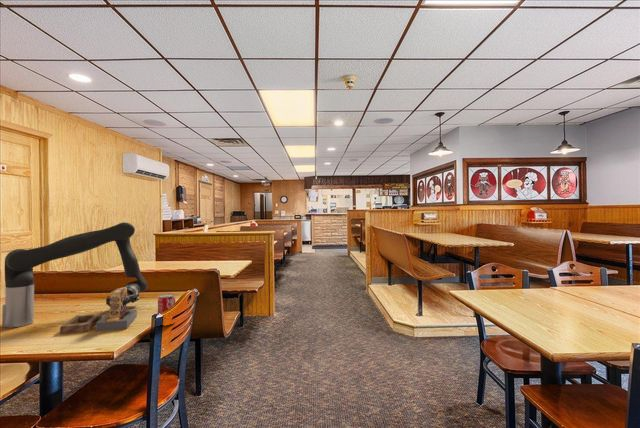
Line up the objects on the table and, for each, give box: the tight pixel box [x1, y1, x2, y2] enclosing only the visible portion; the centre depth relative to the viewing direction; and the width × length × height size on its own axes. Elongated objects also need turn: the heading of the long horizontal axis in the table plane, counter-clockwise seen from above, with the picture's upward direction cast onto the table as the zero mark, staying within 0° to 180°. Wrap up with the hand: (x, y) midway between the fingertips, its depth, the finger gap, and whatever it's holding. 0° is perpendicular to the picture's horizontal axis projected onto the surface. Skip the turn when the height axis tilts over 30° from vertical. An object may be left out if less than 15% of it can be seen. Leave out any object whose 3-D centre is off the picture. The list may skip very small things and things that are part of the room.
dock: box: [95, 308, 138, 332], centre depth 139 cm, size 12×16×4 cm
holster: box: [59, 313, 103, 335], centre depth 135 cm, size 10×15×3 cm, turn 18°
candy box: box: [109, 287, 127, 319], centre depth 140 cm, size 9×4×15 cm, turn 15°
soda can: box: [157, 293, 176, 314], centre depth 139 cm, size 7×7×13 cm
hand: (117, 303), depth 138 cm, fingers open, 5 cm apart
